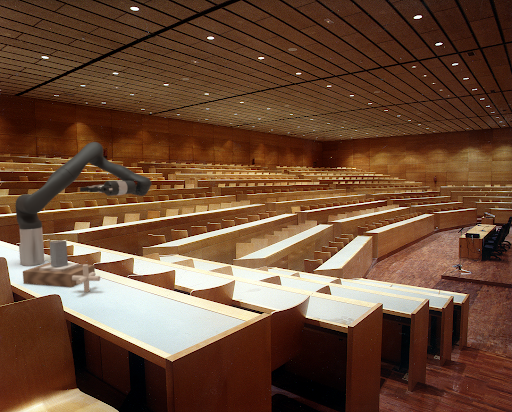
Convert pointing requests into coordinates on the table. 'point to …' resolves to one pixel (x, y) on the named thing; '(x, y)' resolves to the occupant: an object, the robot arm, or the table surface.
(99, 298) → the table surface
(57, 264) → the block
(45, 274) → the brown wooden block
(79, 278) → the pipe connector
